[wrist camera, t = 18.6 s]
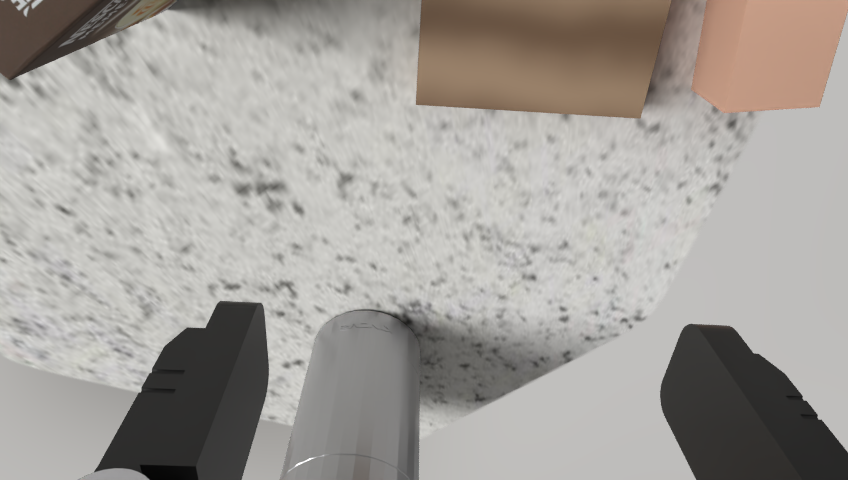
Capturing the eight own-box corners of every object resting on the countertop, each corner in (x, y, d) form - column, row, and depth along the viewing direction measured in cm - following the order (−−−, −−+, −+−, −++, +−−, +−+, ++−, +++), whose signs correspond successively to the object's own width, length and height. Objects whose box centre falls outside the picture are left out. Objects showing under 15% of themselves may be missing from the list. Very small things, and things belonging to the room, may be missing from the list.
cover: (823, -113, 32) (884, -114, 28) (774, 83, 38) (819, 106, 33) (723, -105, 32) (769, -105, 28) (690, 88, 38) (723, 113, 34)
